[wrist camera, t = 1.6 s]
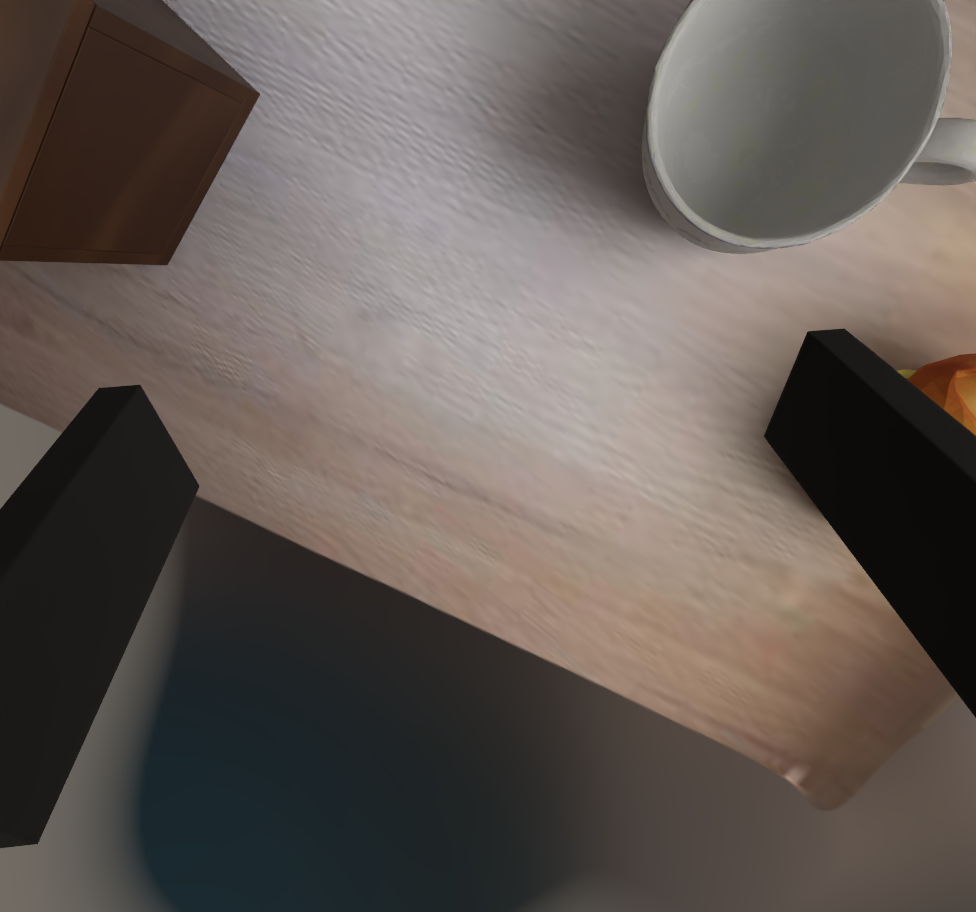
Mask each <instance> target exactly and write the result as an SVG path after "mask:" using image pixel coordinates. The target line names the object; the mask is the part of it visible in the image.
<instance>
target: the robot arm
mask: <svg viewBox="0 0 976 912" xmlns="http://www.w3.org/2000/svg"><path fill="white" fill-rule="evenodd" d="M764 437H765V439H766V440H767V441H768V443H769V444H770V445H771V447H772V448H773V449H774V451H775V452H776V453H777V455H778V456H779V457H780V459H781V460H782V461H783V463H784V464H785V465H786V467H787V468H788V469H789V471H790V472H791V473H792V475H793V476H794V477H795V479H796V480H797V481H798V483H799V484H800V485H801V487H802V488H803V489H804V490H805V492H806V493H807V494H808V496H809V497H810V498H811V500H812V501H813V502H814V504H815V505H816V506H817V508H818V509H819V510H820V512H821V513H822V514H823V516H824V517H825V518H826V520H827V521H828V522H829V524H830V525H831V526H832V528H833V529H834V530H835V532H836V533H837V534H838V536H839V537H840V538H841V540H842V541H843V542H844V544H845V545H846V546H847V548H848V549H849V550H850V552H851V553H852V554H853V555H854V557H855V558H856V559H857V561H858V562H859V563H860V565H861V566H862V567H863V569H864V570H865V571H866V573H867V574H868V575H869V577H870V578H871V579H872V581H873V582H874V583H875V585H876V586H877V587H878V589H879V590H880V591H881V593H882V594H883V595H884V597H885V598H886V599H887V601H888V602H889V603H890V605H891V606H892V607H893V609H894V610H895V611H896V613H897V614H898V615H899V617H900V618H901V619H902V620H903V622H904V623H905V624H906V626H907V627H908V628H909V630H910V631H911V632H912V634H913V635H914V636H915V638H916V639H917V640H918V642H919V643H920V644H921V646H922V647H923V648H924V650H925V651H926V652H927V654H928V655H929V656H930V658H931V659H932V660H933V662H934V663H935V664H936V666H937V667H938V668H939V670H940V671H941V672H942V674H943V675H944V676H945V678H946V679H947V680H948V681H949V683H950V684H951V685H952V687H953V688H954V689H955V691H956V692H957V693H958V695H959V696H960V697H961V699H962V700H963V701H964V703H965V704H966V705H967V707H968V708H969V709H970V711H971V712H972V713H973V714H974V716H975V717H976V435H974V434H973V433H972V432H971V431H970V430H968V429H967V428H966V427H965V426H963V425H962V424H961V423H960V422H959V421H957V420H956V419H955V418H954V417H952V416H951V415H950V414H949V413H947V412H946V411H945V410H944V409H943V408H941V407H940V406H939V405H938V404H936V403H935V402H934V401H933V400H931V399H930V398H929V397H928V396H927V395H925V394H924V393H923V392H922V391H920V390H919V389H918V388H917V387H916V386H914V385H913V384H912V383H911V382H909V381H908V380H907V379H906V378H904V377H903V376H902V375H901V374H900V373H898V372H897V371H896V370H895V369H893V368H892V367H891V366H890V365H888V364H887V363H886V362H885V361H884V360H882V359H881V358H880V357H879V356H877V355H876V354H875V353H874V352H873V351H871V350H870V349H869V348H868V347H866V346H865V345H864V344H863V343H861V342H860V341H859V340H858V339H857V338H855V337H854V336H853V335H852V334H850V333H849V332H848V331H847V330H845V329H834V330H822V331H809V332H807V334H806V337H805V339H804V342H803V344H802V346H801V349H800V351H799V353H798V356H797V358H796V361H795V363H794V365H793V368H792V370H791V373H790V375H789V377H788V380H787V382H786V384H785V387H784V389H783V392H782V394H781V396H780V399H779V401H778V404H777V406H776V408H775V411H774V413H773V415H772V418H771V420H770V423H769V425H768V427H767V430H766V432H765V435H764ZM198 488H199V484H198V483H197V481H196V479H195V477H194V476H193V474H192V472H191V471H190V469H189V467H188V466H187V464H186V462H185V460H184V459H183V457H182V455H181V454H180V452H179V450H178V448H177V447H176V445H175V443H174V442H173V440H172V438H171V437H170V435H169V433H168V431H167V430H166V428H165V426H164V425H163V423H162V421H161V420H160V418H159V416H158V414H157V413H156V411H155V409H154V408H153V406H152V404H151V402H150V401H149V399H148V397H147V396H146V394H145V392H144V391H143V389H142V387H141V385H132V386H119V387H107V388H99V389H98V390H97V391H96V392H95V394H94V395H93V396H92V397H91V399H90V400H89V401H88V402H87V403H86V405H85V406H84V407H83V408H82V410H81V411H80V412H79V413H78V414H77V416H76V417H75V418H74V419H73V421H72V422H71V423H70V424H69V426H68V427H67V428H66V429H65V430H64V432H63V433H62V434H61V435H60V437H59V438H58V439H57V440H56V441H55V443H54V444H53V445H52V446H51V448H50V449H49V450H48V451H47V453H46V454H45V455H44V456H43V457H42V459H41V460H40V461H39V463H38V464H37V465H36V466H35V467H34V468H33V470H32V471H31V472H30V474H29V475H28V476H27V477H26V478H25V480H24V481H23V482H22V483H21V485H20V486H19V487H18V488H17V489H16V491H15V492H14V493H13V494H12V495H11V497H10V498H9V499H8V500H7V502H6V503H5V504H4V506H3V507H2V508H1V509H0V848H5V847H14V846H23V845H31V844H38V842H39V840H40V837H41V835H42V833H43V831H44V829H45V826H46V824H47V822H48V820H49V818H50V815H51V813H52V811H53V809H54V806H55V804H56V802H57V800H58V798H59V795H60V793H61V791H62V789H63V786H64V784H65V782H66V780H67V778H68V776H69V773H70V771H71V769H72V767H73V765H74V762H75V760H76V758H77V755H78V754H79V751H80V749H81V747H82V745H83V742H84V740H85V738H86V736H87V734H88V731H89V729H90V727H91V725H92V723H93V720H94V718H95V716H96V714H97V712H98V709H99V707H100V705H101V703H102V700H103V698H104V696H105V694H106V692H107V689H108V687H109V685H110V682H111V680H112V678H113V676H114V674H115V671H116V670H117V667H118V665H119V663H120V661H121V658H122V656H123V654H124V652H125V650H126V647H127V645H128V643H129V641H130V639H131V636H132V634H133V632H134V630H135V628H136V625H137V623H138V621H139V619H140V617H141V614H142V612H143V610H144V608H145V606H146V603H147V601H148V599H149V597H150V594H151V592H152V590H153V588H154V585H155V583H156V581H157V579H158V577H159V574H160V572H161V570H162V568H163V566H164V564H165V561H166V559H167V557H168V555H169V552H170V550H171V548H172V546H173V544H174V541H175V539H176V537H177V534H178V533H179V530H180V528H181V526H182V524H183V522H184V519H185V517H186V515H187V513H188V511H189V508H190V506H191V504H192V502H193V499H194V497H195V495H196V493H197V491H198Z"/></svg>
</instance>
